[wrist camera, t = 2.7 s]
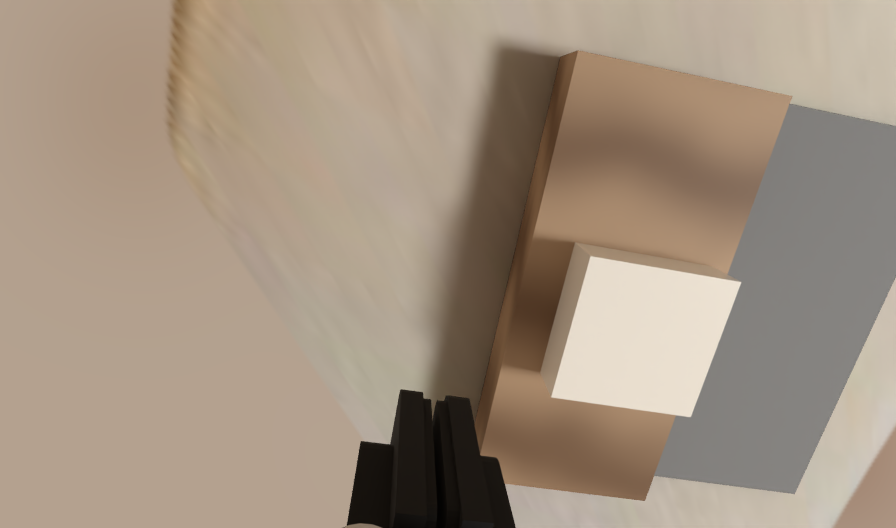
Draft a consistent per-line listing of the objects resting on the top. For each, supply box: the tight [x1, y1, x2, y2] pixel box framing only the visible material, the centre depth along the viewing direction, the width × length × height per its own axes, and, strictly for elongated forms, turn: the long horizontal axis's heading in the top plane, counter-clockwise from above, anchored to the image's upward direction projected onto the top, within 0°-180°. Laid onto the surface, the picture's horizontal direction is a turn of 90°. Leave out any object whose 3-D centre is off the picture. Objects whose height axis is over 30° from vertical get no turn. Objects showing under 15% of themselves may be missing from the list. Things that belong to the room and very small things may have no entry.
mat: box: [654, 104, 896, 494], centre depth 24 cm, size 19×9×1 cm, turn 169°
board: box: [474, 51, 792, 501], centre depth 23 cm, size 19×8×2 cm, turn 169°
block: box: [540, 242, 741, 417], centre depth 21 cm, size 6×6×2 cm
